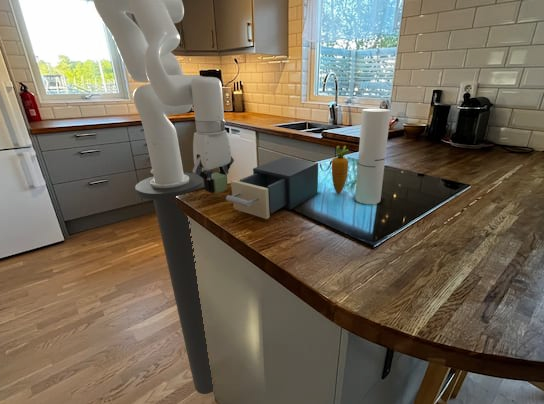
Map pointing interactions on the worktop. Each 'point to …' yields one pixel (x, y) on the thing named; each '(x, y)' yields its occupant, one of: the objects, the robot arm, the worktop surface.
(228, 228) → the worktop surface
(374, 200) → the cylindrical container
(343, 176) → the carrot
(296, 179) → the cabinet
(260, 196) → the drawer
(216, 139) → the robot arm
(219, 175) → the block
